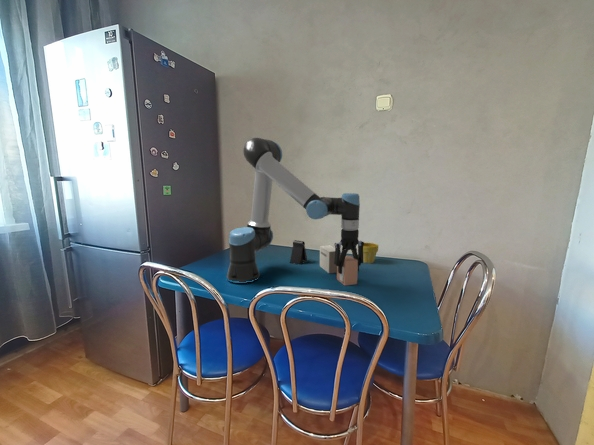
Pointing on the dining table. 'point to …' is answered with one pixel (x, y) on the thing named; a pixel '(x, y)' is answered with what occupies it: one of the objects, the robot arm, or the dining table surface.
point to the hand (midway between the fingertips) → (348, 279)
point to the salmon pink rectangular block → (349, 271)
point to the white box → (328, 258)
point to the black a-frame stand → (298, 252)
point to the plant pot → (369, 252)
